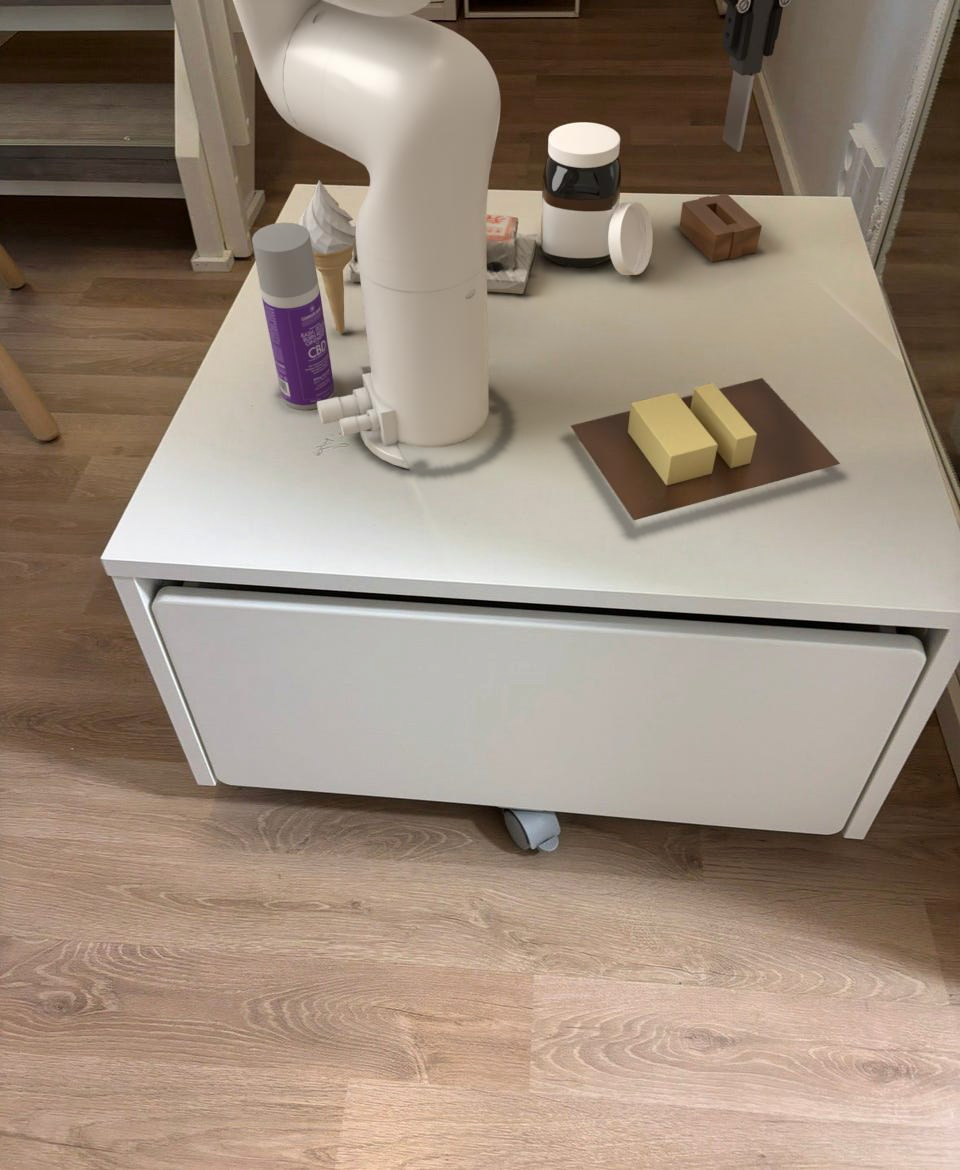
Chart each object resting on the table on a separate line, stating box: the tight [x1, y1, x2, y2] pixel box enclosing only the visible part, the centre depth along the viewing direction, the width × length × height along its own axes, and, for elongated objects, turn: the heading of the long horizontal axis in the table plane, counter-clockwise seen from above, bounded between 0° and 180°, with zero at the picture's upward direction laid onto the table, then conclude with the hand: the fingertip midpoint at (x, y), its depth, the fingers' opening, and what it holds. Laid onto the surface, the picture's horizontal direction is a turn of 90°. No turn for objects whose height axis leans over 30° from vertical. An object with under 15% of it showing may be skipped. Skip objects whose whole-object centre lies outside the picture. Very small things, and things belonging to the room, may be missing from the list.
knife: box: [722, 0, 774, 153], centre depth 94 cm, size 2×3×14 cm, turn 20°
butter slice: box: [690, 382, 757, 468], centre depth 82 cm, size 2×7×3 cm, turn 20°
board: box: [570, 377, 841, 521], centre depth 83 cm, size 18×12×2 cm, turn 110°
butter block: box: [628, 391, 718, 485], centre depth 81 cm, size 4×7×3 cm, turn 20°
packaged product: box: [346, 213, 538, 295], centre depth 103 cm, size 18×5×10 cm
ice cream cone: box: [296, 179, 356, 335], centre depth 91 cm, size 6×6×15 cm
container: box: [251, 222, 336, 411], centre depth 85 cm, size 5×5×15 cm
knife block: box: [678, 193, 763, 263], centre depth 106 cm, size 5×8×3 cm
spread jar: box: [540, 121, 654, 276], centre depth 101 cm, size 12×11×12 cm
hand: (747, 51), depth 93 cm, fingers closed on knife, 2 cm apart
